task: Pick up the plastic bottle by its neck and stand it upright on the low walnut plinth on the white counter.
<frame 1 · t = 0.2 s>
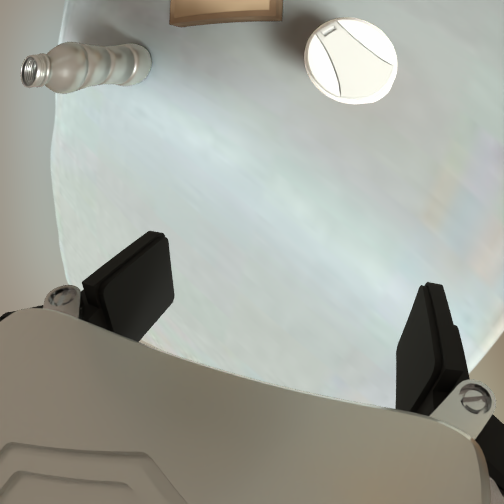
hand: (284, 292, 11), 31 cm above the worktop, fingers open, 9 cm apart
paper cup: (354, 72, 33), on the worktop
plastic bottle: (140, 64, 40), on the worktop
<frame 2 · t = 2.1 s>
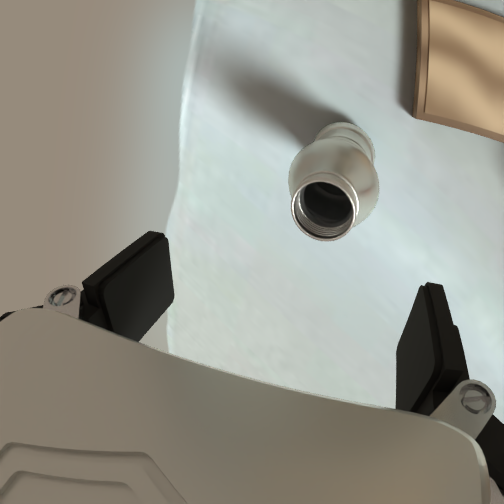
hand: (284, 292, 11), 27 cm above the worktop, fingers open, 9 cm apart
plinth: (475, 71, 24), on the worktop
plastic bottle: (345, 148, 34), on the worktop
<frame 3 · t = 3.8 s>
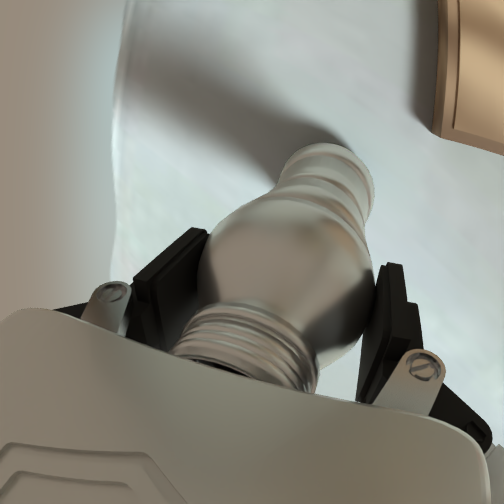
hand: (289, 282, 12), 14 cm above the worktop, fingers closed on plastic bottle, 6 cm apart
plastic bottle: (331, 180, 24), on the worktop, touching gripper
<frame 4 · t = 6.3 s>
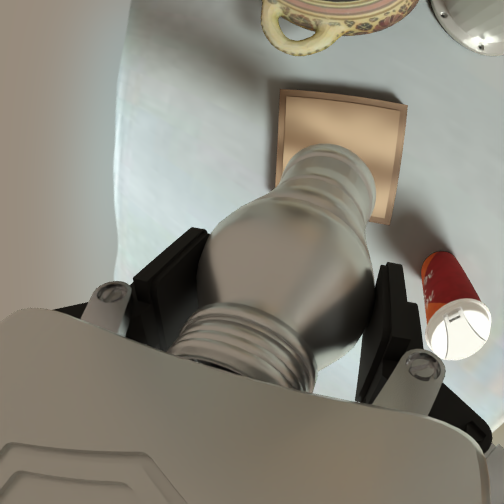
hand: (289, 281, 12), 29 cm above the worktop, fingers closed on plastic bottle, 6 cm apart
paper cup: (439, 269, 39), on the worktop
plinth: (340, 152, 36), on the worktop
plastic bottle: (333, 181, 24), point 15 cm above the worktop, touching gripper
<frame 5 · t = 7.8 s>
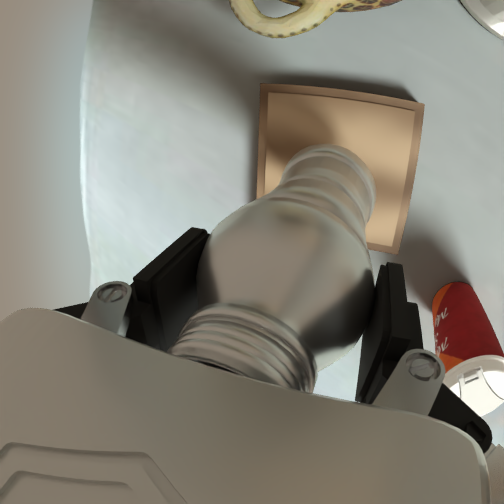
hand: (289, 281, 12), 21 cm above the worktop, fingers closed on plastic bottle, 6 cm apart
paper cup: (453, 301, 32), on the worktop
plinth: (337, 162, 29), on the worktop
plastic bottle: (333, 181, 24), point 7 cm above the worktop, touching gripper
when the fingers open (18 cm above the worktop, at t = 8.9 s): plastic bottle stays where it is, resting on plinth.
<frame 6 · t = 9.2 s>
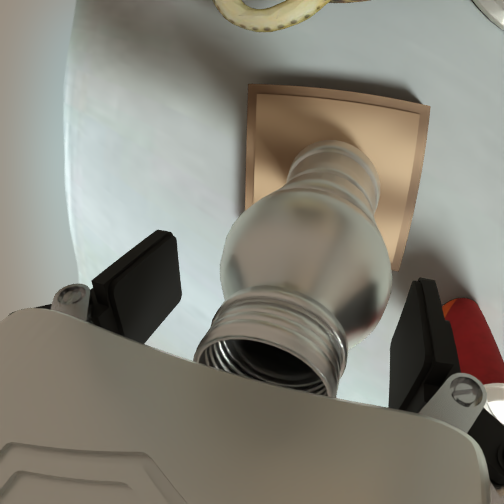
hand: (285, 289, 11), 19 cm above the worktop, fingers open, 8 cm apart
paper cup: (457, 318, 29), on the worktop
plinth: (334, 170, 27), on the worktop
plastic bottle: (337, 177, 24), point 3 cm above the worktop, touching plinth
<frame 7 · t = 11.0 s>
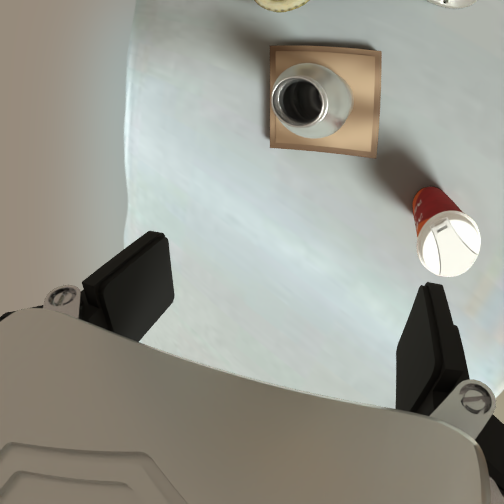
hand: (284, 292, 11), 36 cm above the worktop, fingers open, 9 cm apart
paper cup: (430, 205, 41), on the worktop
plinth: (326, 98, 39), on the worktop
plastic bottle: (328, 97, 36), point 3 cm above the worktop, touching plinth
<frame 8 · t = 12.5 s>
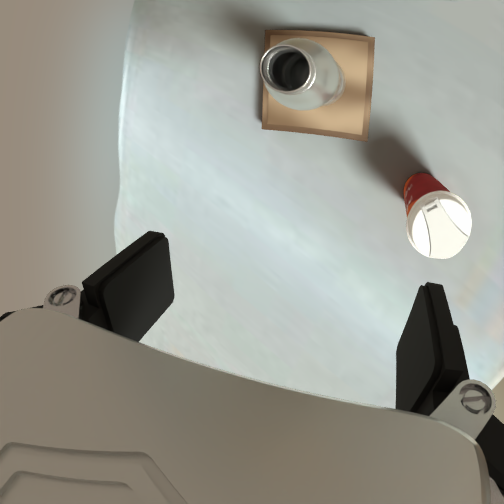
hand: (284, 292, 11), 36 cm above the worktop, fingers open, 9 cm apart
paper cup: (421, 191, 41), on the worktop
plinth: (319, 82, 39), on the worktop
plastic bottle: (320, 80, 36), point 3 cm above the worktop, touching plinth
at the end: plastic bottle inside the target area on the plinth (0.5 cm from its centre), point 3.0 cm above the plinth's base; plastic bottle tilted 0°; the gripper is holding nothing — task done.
